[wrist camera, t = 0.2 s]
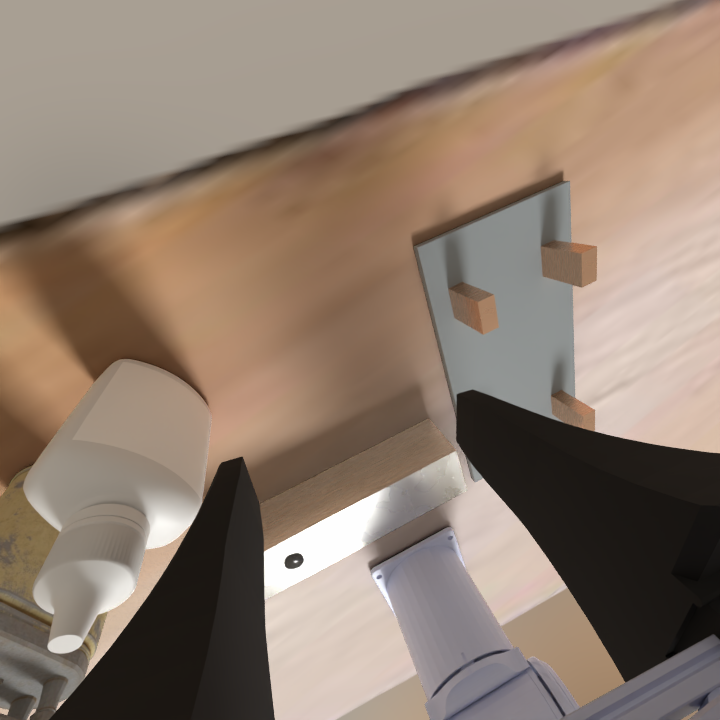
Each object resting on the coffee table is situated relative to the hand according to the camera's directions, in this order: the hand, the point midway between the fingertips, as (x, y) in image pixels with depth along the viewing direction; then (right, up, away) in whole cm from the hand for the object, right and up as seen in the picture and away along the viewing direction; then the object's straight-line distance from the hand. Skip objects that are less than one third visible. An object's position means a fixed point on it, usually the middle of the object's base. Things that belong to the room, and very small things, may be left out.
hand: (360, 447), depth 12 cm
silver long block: (-2, -6, +14) cm, 16 cm away
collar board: (+11, +3, +14) cm, 18 cm away
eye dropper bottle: (-11, +1, +8) cm, 13 cm away
